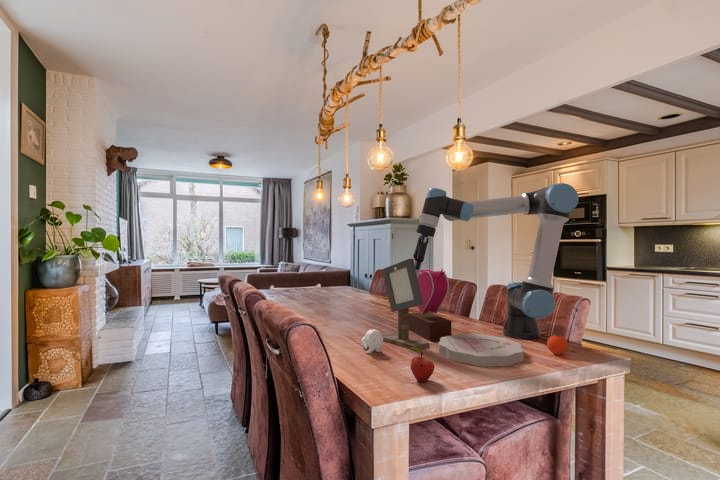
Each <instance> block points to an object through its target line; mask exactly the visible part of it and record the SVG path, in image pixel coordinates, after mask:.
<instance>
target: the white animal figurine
mask: <svg viewBox="0 0 720 480" xmlns="http://www.w3.org/2000/svg"><path fill="white" fill-rule="evenodd" d="M381 334H382V332H380V331H379V330H377V329H368V331H366V333H365V335H364V336H363V337H362V338H361V340H360V341H361V344H360V345H361V347H362V348H364V349H365V350H366V351H365V354H367V355H369V354H372V353H373V352H374V351H375V352H376V353H381V352H382V350H381V348H382V347H383V342H384V341H383V337H382V335H381ZM368 347H369V349H368Z"/></svg>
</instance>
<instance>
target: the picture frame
mask: <svg viewBox="0 0 720 480" xmlns="http://www.w3.org/2000/svg"><path fill="white" fill-rule="evenodd" d="M382 274H383V279H384V283H385V287H386V292H387V296H388V301H389V302H388V303H389V306H390V310H391V313H395V312H398V311H399V310H403V309H407V308H409V309H411V308H414V307H418V306H419V305H423V304H424V303H423V299H422V295H421V291H420V287H419V283H418V278H417V274H416V270H415V266H414V262H413V258H408V259H404V260H402V261H400V262H398V263H394V264H392V265H390V266H386V267H385V268H382Z"/></svg>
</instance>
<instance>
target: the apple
mask: <svg viewBox="0 0 720 480" xmlns="http://www.w3.org/2000/svg"><path fill="white" fill-rule="evenodd" d="M412 349H415V350H414V351H417V352H419V353H420V356H417V355H415V356H413V358H412V359H411V362H410V369H411V373H412V374H413V376H414V378H415V380H416V381H417V382H419V383H420V382H421V383H426V382H427V381H428V380H429V379H430V378H431V376H432V375H433V373H434V370H435V363H434V362H433V361H432V360H431V359H430V358H425V357H424V356H423V355H424V352H423V351H420V349H418V348H416V347H412ZM412 349H411V348H408V350H412Z"/></svg>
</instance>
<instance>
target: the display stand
mask: <svg viewBox="0 0 720 480" xmlns="http://www.w3.org/2000/svg"><path fill="white" fill-rule="evenodd" d="M409 309H410V308H407V309H403V310H399V311H397V313H398V314H397V316H398V317H397V318H398V319H397V325H398V326H397V328H398V329H397V330H398V331H397V333H393V332H385V333H381V335H382V337H383V342H385V343H388V344H392V345H395V346H399V347H403V348H406V349H409V348H411V349H410V350H413V351H416V350H415V349H412V347H416V348H418V349H419V350H422V349H426V348H429V347H430V342H429V341H428V342H427V341H424V340H420V339H416V338H413V337H410V335H409V333H410V330H409V312H410V310H409Z"/></svg>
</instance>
